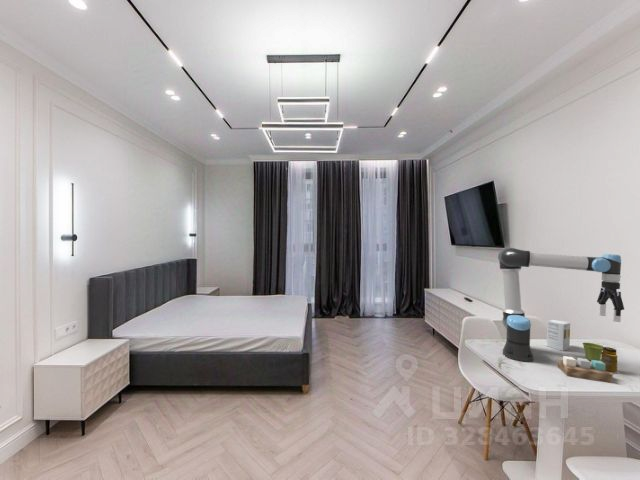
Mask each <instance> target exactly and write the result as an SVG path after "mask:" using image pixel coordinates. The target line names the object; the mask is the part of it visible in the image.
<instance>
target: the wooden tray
mask: <svg viewBox="0 0 640 480" xmlns="http://www.w3.org/2000/svg"><path fill="white" fill-rule="evenodd" d="M557 368H558V369H559V370H560V371H561V372H562V373H563V374H564V375H566V377H570V378H571V377H573V378H578V379H586V380H591V381H597V382H603V383H604V382H605V383H609V384H610V383H611V384H612V383H613V374H611V373H609V372H608V371H607V370H605V371H599V370H594V369H593V368H592V367H591V363H590V369H585V368H580V367H578V366H577V361H576V367H571V366H565V365H564V364H563V359H557Z"/></svg>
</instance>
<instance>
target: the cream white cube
mask: <svg viewBox="0 0 640 480" xmlns="http://www.w3.org/2000/svg"><path fill="white" fill-rule="evenodd" d="M562 360H563V364H564V365H565V366H571V367H576V362H577V359H576V358H574V357H573V356H566V355H563V357H562Z"/></svg>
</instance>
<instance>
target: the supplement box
mask: <svg viewBox="0 0 640 480" xmlns="http://www.w3.org/2000/svg"><path fill="white" fill-rule="evenodd" d="M546 325H547V326H546V328H547V329H546V347H549V348H552V349H556V350H560V351H562V352H563V351H565V350H566V351H567V350H569V349H570V341H571V340H570V338H571V323H570V322H568V321H563V320H557V319H551V320H547V323H546Z"/></svg>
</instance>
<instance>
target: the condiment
mask: <svg viewBox="0 0 640 480" xmlns="http://www.w3.org/2000/svg"><path fill="white" fill-rule="evenodd" d="M617 353H618V352H617V349H616V348H613V347H609V346H603V350H602V354H601V358H600V361H602V362H603V363H605V370H607V371H608V372H609V373H611V374H612V375H613V374H622V372H620V371H618V355H617Z"/></svg>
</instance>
